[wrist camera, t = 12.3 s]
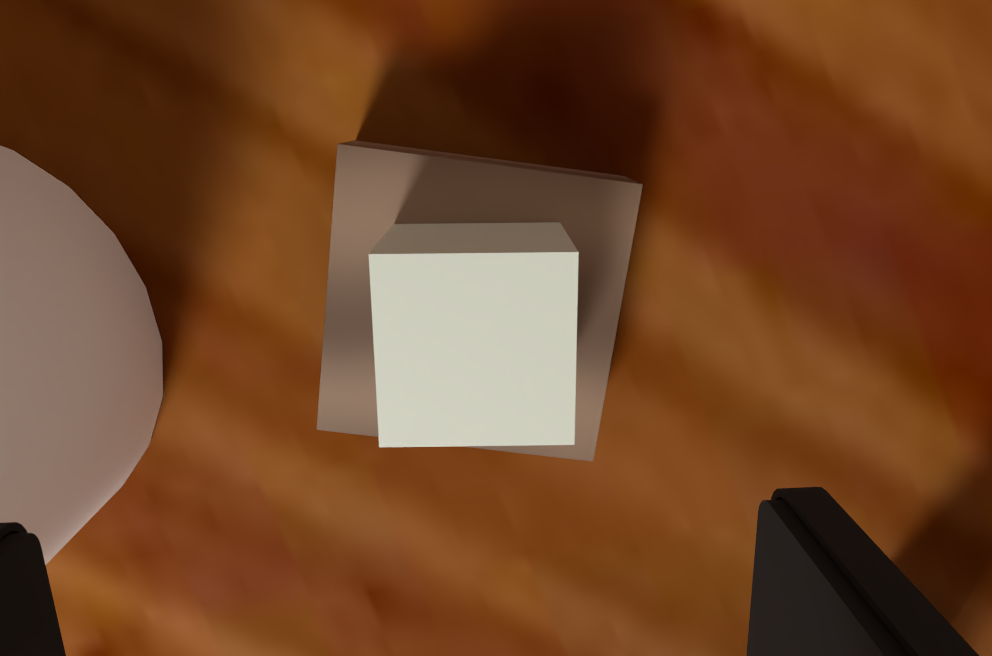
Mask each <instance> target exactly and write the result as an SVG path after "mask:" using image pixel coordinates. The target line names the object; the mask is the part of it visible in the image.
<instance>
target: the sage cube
mask: <svg viewBox="0 0 992 656" xmlns="http://www.w3.org/2000/svg"><path fill="white" fill-rule="evenodd" d="M578 256H579V252H578V250H577V249H576V247H575V246H574V244H573V242H572V241H571V239H570V238H569V236H568V234H567V233H566V231H565V230H564V228H563V226H562V225H561V223H560V222H541V223H440V224H393V226H392V227H391V228H390V229H389V230H388V232H387V233H386V234H385V235H384V236H383V238H382V239H381V240H380V241H379V242H378V244H377V245H376V246H375V247H374V248H373V250H372V251H371V252H370V253H369V271H370V289H371V307H372V325H373V343H374V361H375V379H376V397H377V415H378V433H379V447H442V446H528V445H575V398H576V350H577V303H578Z"/></svg>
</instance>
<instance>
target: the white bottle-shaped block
mask: <svg viewBox="0 0 992 656" xmlns="http://www.w3.org/2000/svg"><path fill="white" fill-rule="evenodd" d="M162 398H163V363H162V340H161V337H160V333H159V330H158V327H157V323H156V320H155V316H154V313H153V310H152V306H151V303H150V299H149V296H148V293H147V289H146V286H145V285H144V283H143V281H142V280H141V278H140V276H139V275H138V273H137V271H136V269H135V268H134V266H133V264H132V263H131V261H130V259H129V258H128V256H127V254H126V253H125V251H124V249H123V247H122V246H121V244H120V242H119V241H118V239H117V237H116V236H115V234H114V233H113V232H112V231H111V230H110V229H109V228H108V227H107V226H106V224H105V223H104V222H103V221H102V220H101V219H100V218H99V217H98V216H97V215H96V214H95V213H94V212H93V211H92V210H91V209H90V208H89V207H88V206H87V205H86V204H85V203H84V202H83V201H82V200H81V198H80V197H79V196H78V195H77V194H76V193H75V192H74V191H73V190H72V189H71V188H70V187H69V186H67V185H66V184H64V183H63V182H61V181H60V180H58V179H57V178H55V177H54V176H52V175H50V174H49V173H47V172H46V171H44V170H43V169H41V168H40V167H38V166H37V165H35V164H34V163H32V162H31V161H29V160H28V159H26V158H24V157H23V156H21V155H20V154H18V153H17V152H15V151H14V150H11V149H9V148H6V147H3V146H0V523H7V522H17V523H20V524H22V525H23V526H24V528H25V529H26V530H27V533H33V534H35V535H36V536H37V537H38V539H39V541H40V544H41V548H42V552H43V557H44V561H45V565H46V564H47V563H48V562H49V561H50V560H51V559H52V558H53V557H54V556H55V555H56V554H57V553H58V552H59V551H60V550H61V549H62V548H63V547H64V546H65V544H66V543H67V542H68V541H69V540H70V539H71V538H72V537H73V536H74V535H75V534H76V533H77V532H78V531H79V530H80V529H81V528H82V527H83V526H84V525H85V524H86V523H87V522H88V521H89V520H90V519H91V518H92V517H93V516H94V515H95V514H96V513H97V511H98V510H99V509H100V508H101V507H102V506H103V505H104V504H105V503H106V502H107V501H108V500H109V499H110V498H111V497H112V496H113V495H114V494H115V493H116V492H117V491H118V490H119V489H120V488H121V487H122V486H123V484H124V483H125V481H126V480H127V478H128V477H129V475H130V474H131V472H132V471H133V469H134V467H135V466H136V464H137V463H138V461H139V460H140V458H141V457H142V455H143V454H144V452H145V451H146V449H147V448H148V446H149V444H150V441H151V437H152V434H153V430H154V427H155V423H156V419H157V416H158V412H159V409H160V405H161V402H162Z"/></svg>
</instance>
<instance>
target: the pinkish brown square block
mask: <svg viewBox="0 0 992 656" xmlns="http://www.w3.org/2000/svg"><path fill="white" fill-rule="evenodd" d="M642 186H643V184H641V183H639V182H636V181H634V180H632V179H630V178H627V177H625V176H621V175H613V174H606V173H598V172H591V171H583V170H576V169H568V168H561V167H553V166H546V165H538V164H531V163H523V162H516V161H508V160H501V159H493V158H486V157H478V156H471V155H463V154H455V153H448V152H440V151H433V150H425V149H418V148H410V147H403V146H395V145H388V144H380V143H373V142H365V141H358V140H354V141H350V142H345V143H340V144H338V146H337V160H336V173H335V187H334V201H333V214H332V228H331V242H330V256H329V269H328V283H327V297H326V310H325V324H324V338H323V351H322V365H321V379H320V392H319V406H318V420H317V430H324V431H333V432H342V433H350V434H359V435H368V436H376V437H379V433H378V415H377V397H376V379H375V361H374V343H373V325H372V307H371V289H370V271H369V253H370V252H371V251H372V250H373V248H374V247H375V246H376V245H377V244H378V242H379V241H380V240H381V239H382V238H383V236H384V235H385V234H386V233H387V232H388V230H389V229H390V228H391V227H392V226H393V224H440V223H541V222H560V223H561V225H562V226H563V228H564V230H565V231H566V233H567V234H568V236H569V238H570V239H571V241H572V242H573V244H574V246H575V247H576V249H577V250H578V252H579V256H578V303H577V350H576V398H575V445H528V446H463V447H472V448H481V449H489V450H498V451H507V452H516V453H524V454H533V455H542V456H550V457H559V458H568V459H576V460H585V461H593V459H594V453H595V448H596V442H597V436H598V431H599V425H600V420H601V414H602V409H603V403H604V398H605V392H606V386H607V381H608V375H609V370H610V364H611V359H612V353H613V348H614V342H615V336H616V331H617V325H618V320H619V314H620V309H621V303H622V298H623V292H624V286H625V281H626V275H627V270H628V264H629V259H630V253H631V248H632V242H633V236H634V231H635V225H636V220H637V214H638V209H639V203H640V198H641V192H642Z"/></svg>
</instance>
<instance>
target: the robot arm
mask: <svg viewBox="0 0 992 656" xmlns="http://www.w3.org/2000/svg"><path fill="white" fill-rule="evenodd" d="M0 656H66V654H65V650H64V646H63V641H62V637H61V632H60V628H59V623H58V619H57V614H56V610H55V606H54V601H53V597H52V592H51V588H50V583H49V579H48V574H47V570H46V566H45V561H44V557H43V552H42V548H41V544H40V541H39V539H38V537H37V536H36V535H35V534H33V533H27V530H26V529H25V528H24V526H23V525H22V524H20V523H17V522H7V523H0ZM747 656H979V655H978V654H977V653H976V652H975V651H974V650H973V649H972V648H971V647H970V645H969V644H968V643H967V642H966V641H965V640H964V639H963V638H962V637H961V636H960V635H959V634H958V633H957V631H956V630H955V629H954V628H953V627H952V626H951V625H950V624H949V623H948V622H947V621H946V620H945V618H944V617H943V616H942V615H941V614H940V613H939V612H938V611H937V610H936V609H935V608H934V607H933V606H932V604H931V603H930V602H929V601H928V600H927V599H926V598H925V597H924V596H923V595H922V594H921V593H920V592H919V590H918V589H917V588H916V587H915V586H914V585H913V584H912V583H911V582H910V581H909V580H908V579H907V577H906V576H905V575H904V574H903V573H902V572H901V571H900V570H899V569H898V568H897V567H896V566H895V565H894V563H893V562H892V561H891V560H890V559H889V558H888V557H887V556H886V555H885V554H884V553H883V552H882V551H881V549H880V548H879V547H878V546H877V545H876V544H875V543H874V542H873V541H872V540H871V539H870V538H869V536H868V535H867V534H866V533H865V532H864V531H863V530H862V529H861V528H860V527H859V526H858V525H857V524H856V522H855V521H854V520H853V519H852V518H851V517H850V516H849V515H848V514H847V513H846V512H845V511H844V510H843V508H842V507H841V506H840V505H839V504H838V503H837V502H836V501H835V500H834V499H833V498H832V497H831V495H830V494H829V493H828V492H827V491H826V490H824V489H823V488H822V487H805V488H782V489H776V490H775V491H774V493H773V495H772V498H771V500H763V501H762V502H761V503H760V506H759V511H758V521H757V534H756V546H755V558H754V571H753V583H752V596H751V608H750V621H749V633H748V645H747Z"/></svg>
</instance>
